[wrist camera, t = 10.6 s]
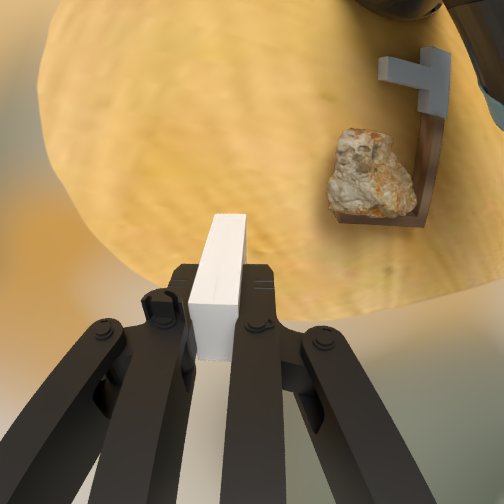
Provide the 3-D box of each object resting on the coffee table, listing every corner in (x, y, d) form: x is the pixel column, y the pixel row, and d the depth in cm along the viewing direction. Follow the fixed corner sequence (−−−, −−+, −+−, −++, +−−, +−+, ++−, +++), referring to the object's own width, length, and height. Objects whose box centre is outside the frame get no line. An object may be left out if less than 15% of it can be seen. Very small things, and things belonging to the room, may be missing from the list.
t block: (378, 36, 26) (388, 32, 23) (438, 54, 26) (450, 53, 23) (376, 102, 30) (385, 104, 28) (434, 115, 30) (446, 118, 28)
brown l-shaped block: (344, 97, 30) (352, 98, 27) (430, 114, 30) (444, 118, 27) (332, 211, 38) (339, 223, 35) (413, 216, 38) (424, 227, 35)
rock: (311, 195, 37) (327, 230, 29) (327, 117, 32) (352, 127, 23) (392, 210, 38) (424, 246, 29) (412, 140, 32) (454, 160, 24)
